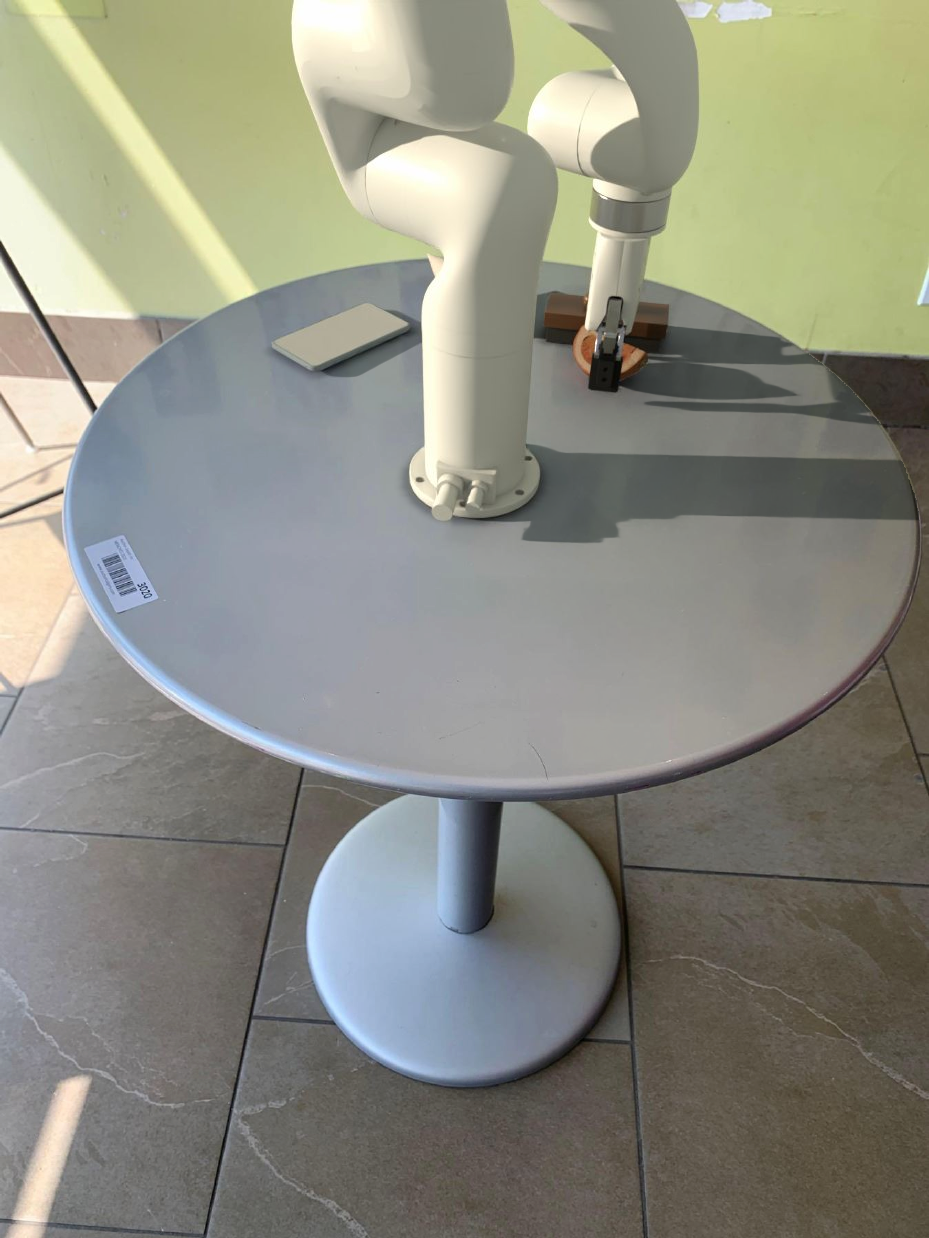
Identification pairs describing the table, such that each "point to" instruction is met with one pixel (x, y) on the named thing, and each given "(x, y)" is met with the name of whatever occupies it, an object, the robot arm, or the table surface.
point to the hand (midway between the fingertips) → (606, 366)
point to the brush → (570, 316)
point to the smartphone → (340, 336)
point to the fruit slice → (585, 348)
